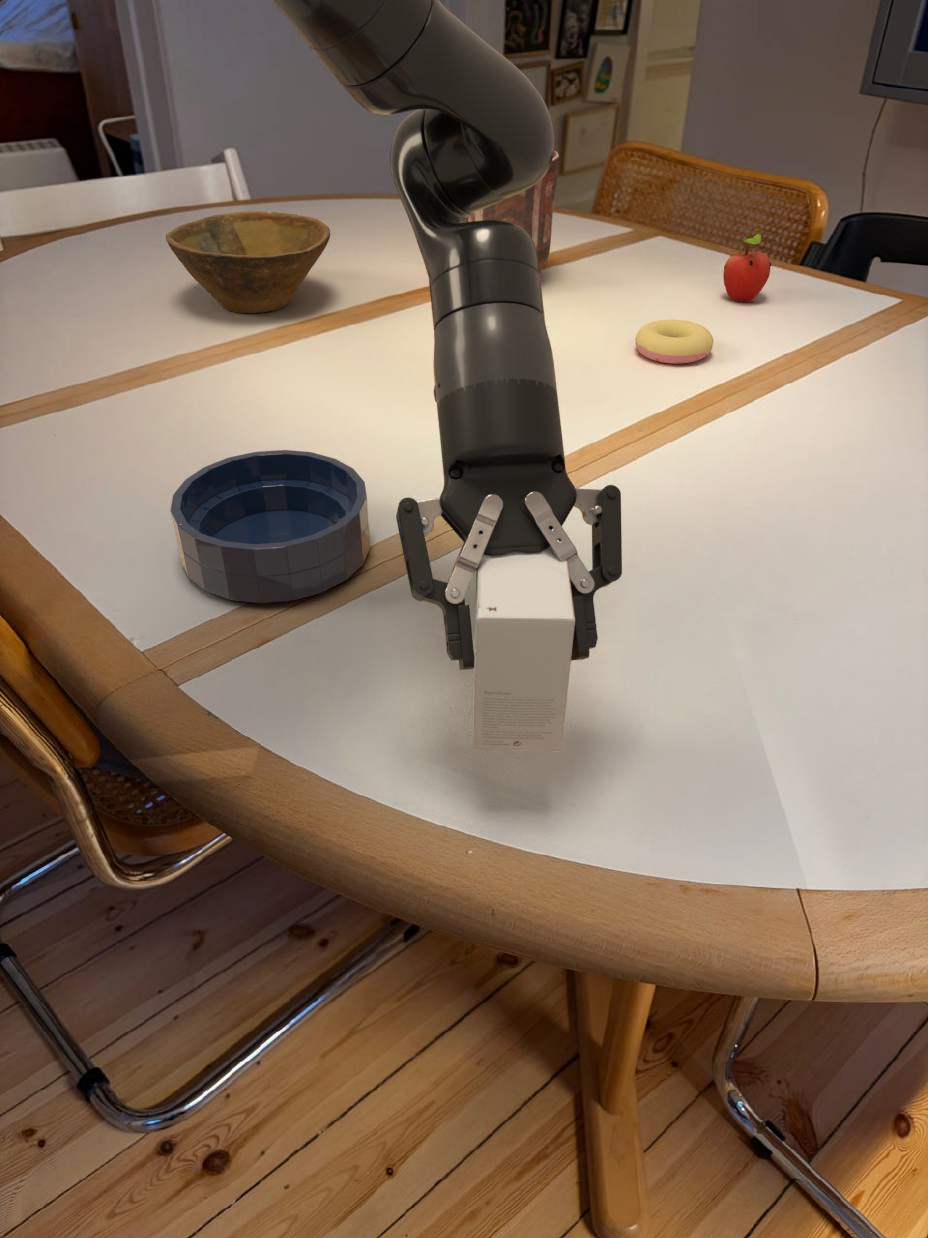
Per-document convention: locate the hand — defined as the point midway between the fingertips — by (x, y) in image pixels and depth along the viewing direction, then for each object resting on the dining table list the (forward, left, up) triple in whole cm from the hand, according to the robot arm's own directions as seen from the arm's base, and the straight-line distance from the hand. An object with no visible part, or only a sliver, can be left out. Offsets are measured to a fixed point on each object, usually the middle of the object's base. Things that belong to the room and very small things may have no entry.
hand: (524, 663), depth 56 cm
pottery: (+17, +103, -11) cm, 105 cm away
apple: (+52, +89, -11) cm, 103 cm away
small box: (0, +2, -6) cm, 6 cm away
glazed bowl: (-16, +31, -11) cm, 36 cm away
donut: (+35, +71, -11) cm, 80 cm away
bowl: (-19, +97, -11) cm, 99 cm away
